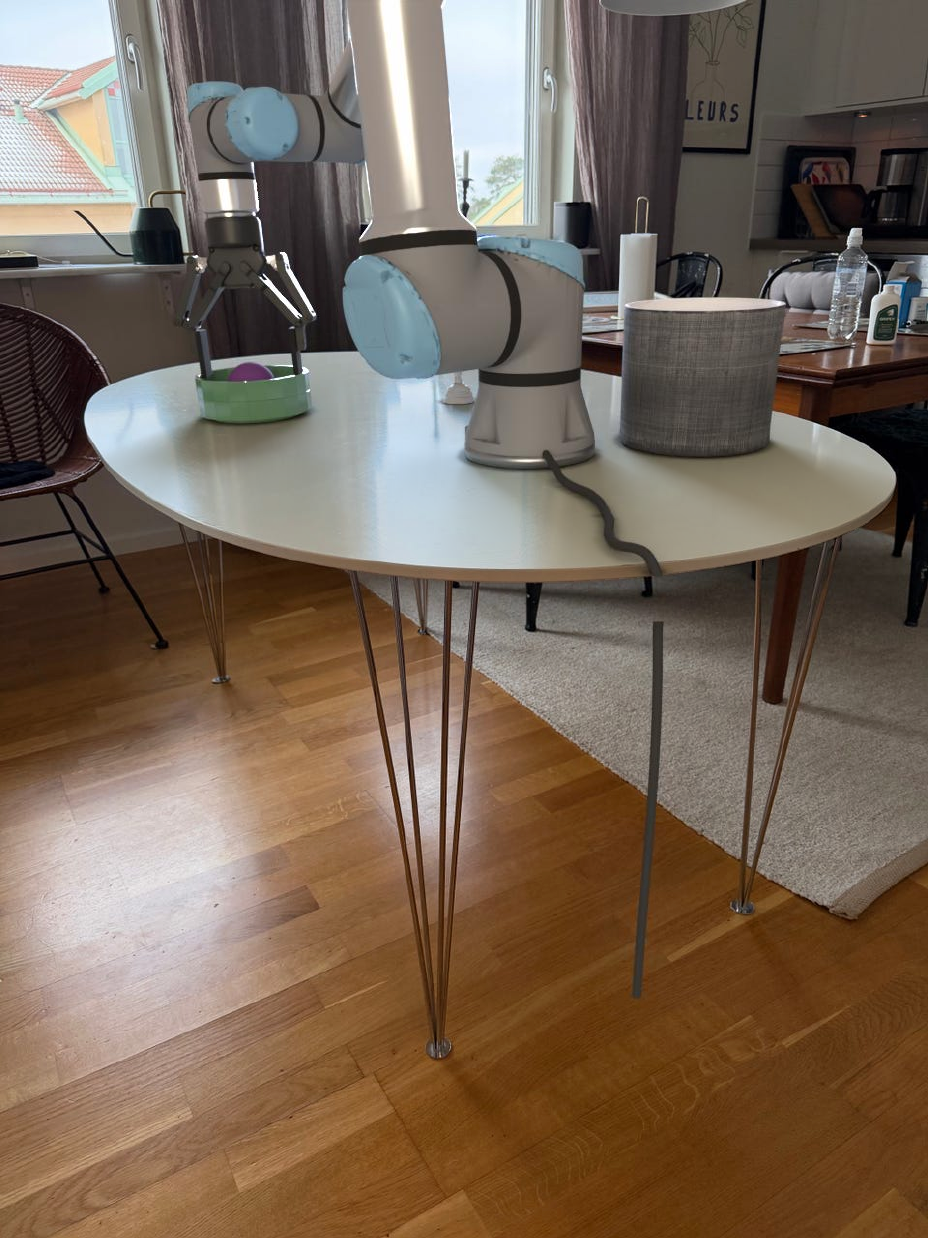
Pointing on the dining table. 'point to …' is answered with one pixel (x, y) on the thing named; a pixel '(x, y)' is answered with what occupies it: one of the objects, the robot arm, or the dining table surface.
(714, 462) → the dining table surface
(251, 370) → the ball
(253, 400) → the bowl
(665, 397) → the planter
